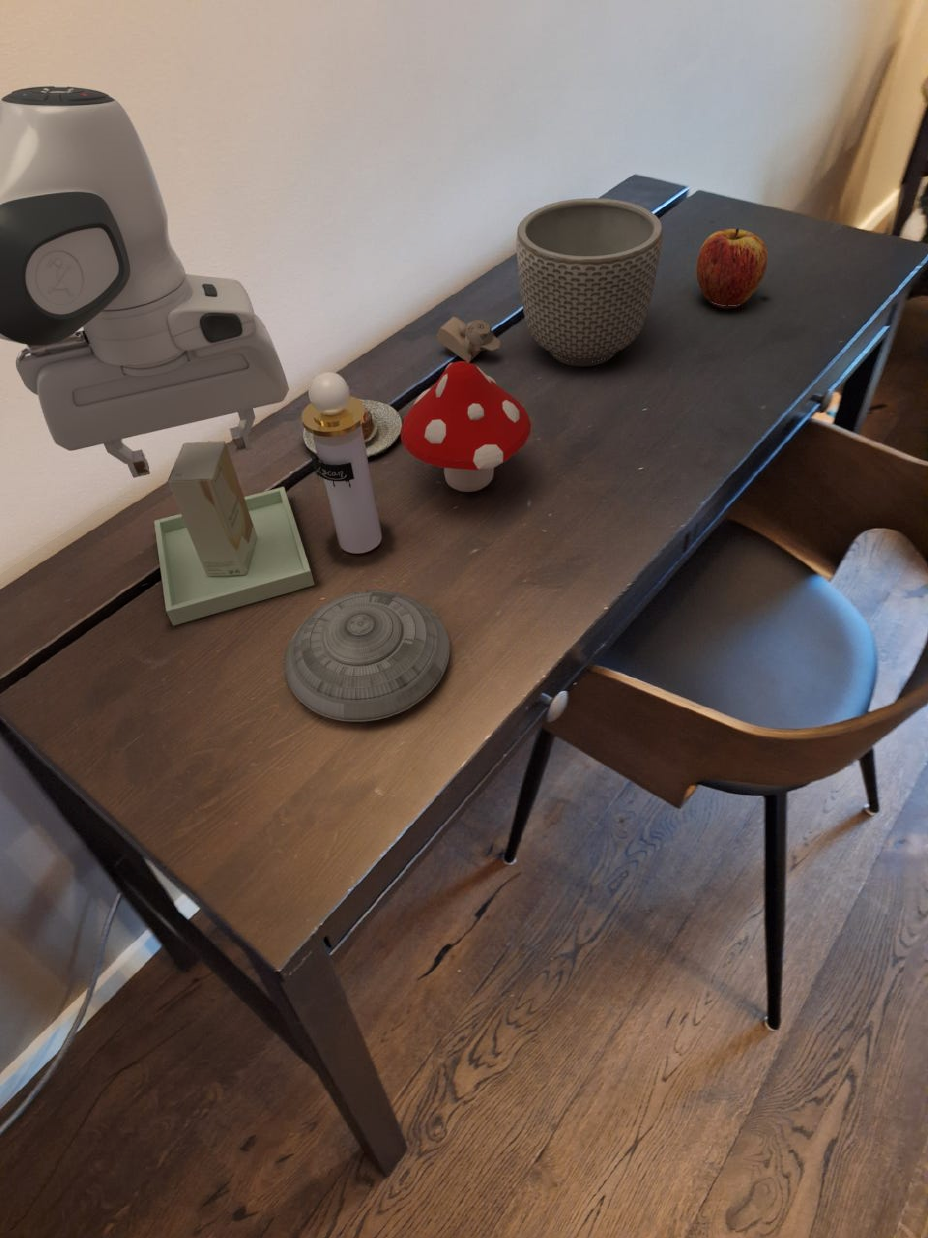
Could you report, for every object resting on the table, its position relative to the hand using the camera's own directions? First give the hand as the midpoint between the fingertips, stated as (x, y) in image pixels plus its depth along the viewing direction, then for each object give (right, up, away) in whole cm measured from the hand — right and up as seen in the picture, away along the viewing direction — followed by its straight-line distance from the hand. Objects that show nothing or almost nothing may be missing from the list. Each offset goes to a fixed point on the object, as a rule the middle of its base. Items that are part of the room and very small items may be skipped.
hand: (193, 459), depth 75 cm
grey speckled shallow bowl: (+12, +7, +23) cm, 27 cm away
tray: (+1, -8, +10) cm, 13 cm away
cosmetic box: (+1, -8, +9) cm, 13 cm away
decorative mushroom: (+26, +1, +16) cm, 30 cm away
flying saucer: (+16, -19, -1) cm, 25 cm away
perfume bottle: (+14, -7, +10) cm, 19 cm away
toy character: (+26, +20, +34) cm, 47 cm away
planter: (+41, +21, +33) cm, 56 cm away
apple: (+62, +30, +39) cm, 79 cm away
